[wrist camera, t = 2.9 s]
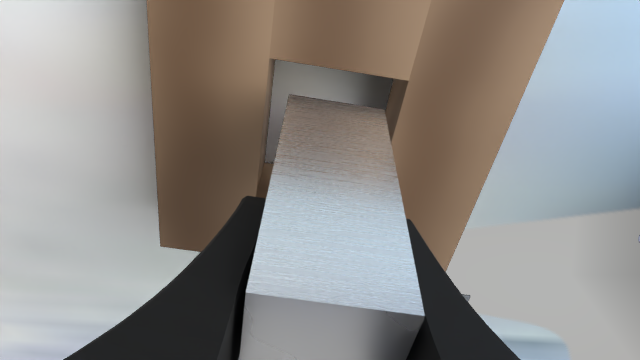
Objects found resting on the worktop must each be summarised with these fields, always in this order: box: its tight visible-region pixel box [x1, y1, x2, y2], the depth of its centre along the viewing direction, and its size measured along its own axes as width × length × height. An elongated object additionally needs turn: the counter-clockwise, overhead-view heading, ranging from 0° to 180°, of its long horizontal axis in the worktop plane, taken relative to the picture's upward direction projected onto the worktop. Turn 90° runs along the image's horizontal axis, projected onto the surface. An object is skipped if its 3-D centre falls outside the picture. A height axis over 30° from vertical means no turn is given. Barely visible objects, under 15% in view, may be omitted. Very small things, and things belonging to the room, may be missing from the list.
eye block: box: [147, 0, 564, 272], centre depth 17 cm, size 12×12×2 cm
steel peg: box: [239, 94, 425, 360], centre depth 12 cm, size 3×4×8 cm
